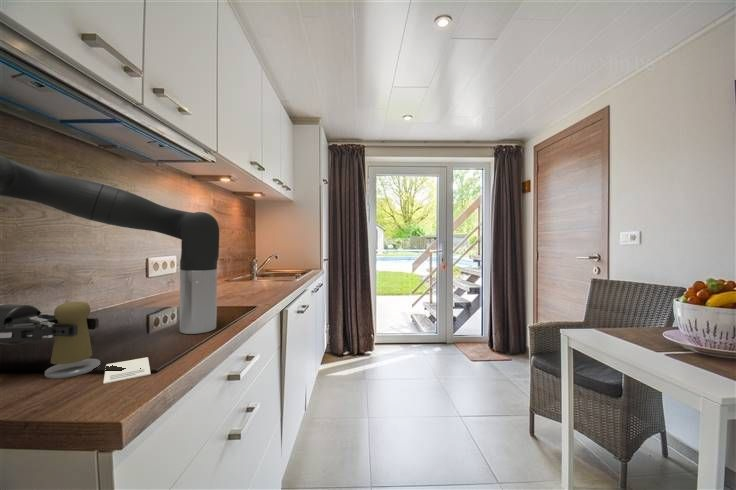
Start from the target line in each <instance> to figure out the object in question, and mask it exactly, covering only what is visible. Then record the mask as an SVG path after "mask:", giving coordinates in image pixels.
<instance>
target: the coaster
mask: <svg viewBox="0 0 736 490" xmlns="http://www.w3.org/2000/svg"><path fill="white" fill-rule="evenodd" d="M99 365H100V366H101V360H100V359H98V358H88V359H86V360H82V361H79V362H75V363H69V364H54V365H53V366H50V367H48V368H47V369H46V370H44V377H45V378H47V379H65V378H72V377H76V376H81V375H84V374H87V373H90V372H93V371H94V370H93V369H94V368H96V367H98V366H99ZM100 366H99V367H100ZM99 367H98V368H99ZM92 370H93V371H92Z"/></svg>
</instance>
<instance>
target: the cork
mask: <svg viewBox="0 0 736 490" xmlns="http://www.w3.org/2000/svg"><path fill="white" fill-rule="evenodd" d="M53 314H54V316H55V318H56V319H57V320H58V323H60V324H76V325H77V326H78V332H77V335H76V336H73V337H67V336H54V340H53V345H52V353H51V356H50V364H52V365H58V364H69V363H75V362H79V361H82V360H86V359H91V357H92V356H93V351H92V343H91V337H90V332H89V330H90V329H88V324H87V318H89V315H90V314H91V306H90V305H89V304H88V303H87V302H84V301H69V302H63V303H61V304H59V305H57V306H56V307H55V309H54V311H53Z"/></svg>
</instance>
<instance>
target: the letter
mask: <svg viewBox="0 0 736 490" xmlns="http://www.w3.org/2000/svg"><path fill="white" fill-rule="evenodd" d="M112 365H113V366H117V367H122V368H126V369H124V370H122V371H105V370H104V377H103V382H102V384H103V385H106V384H110V383H115V382H119V381H120V382H121V381H125V380H129V379H136V378H140V377H146V376H150V375H152V374H151V367H150V361H149V357H141V358H135V359H131V360H129V359H128V360H124V361H117V362H113V363H106V365H105V367H106V366H109V367H110V366H112ZM140 368H141V369H140Z"/></svg>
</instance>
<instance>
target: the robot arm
mask: <svg viewBox="0 0 736 490" xmlns="http://www.w3.org/2000/svg"><path fill="white" fill-rule="evenodd" d="M0 196H1V197H8V198H14V199H19V200H24V201H30V202H34V203H38V204H42V205H45V206H47V207H51V208H53V209H55V210H58V211H60V212H61V211H62V212H64V213H66V214H69V215H73V216H76V217H79V218H80V219H84V220H85V219H86V220H88V221H92V222H96V223H97V222H98V223H100V224H101V223H102V224H106V225H110V226H113V227H114V226H116V227H120V228H121V227H122V228H127V229H134V230H141V231H149V232H155V233H159V234H162V235H166V236H169V237H173V238H176V239H179V240H181V244H180V245H181V250H180V251H181V252H180V259H179V332H180V333H182V334H187V335H192V334H193V335H194V334H195V335H196V334H197V335H198V334H204V333H209V332H211V331H214V330H216V329H217V316H218V315H217V314H218V313H217V311H218V310H217V307H218V305H217V304H218V303H217V302H218V297H217V293H218V261H219V256H220V254H219V252H220V226H219V223H218V220H217V219H216V218H215V217H214V216H213V215H211V214H210V213H207V212H203V211H195V212H191V211H184V210H180V209H176V208H170V207H166V206H164V205H161V204H158V203H156V202H154V201H152V200H149V199H147V198H145V197H143V196H141V195H137V194H135V193H132V192H130V191H126V190H125V189H120V188H117V187H113V186H110V185H107V184H103V183H100V182H96V181H91V180H87V179H83V178H77V177H71V176H66V175H59V174H54V173H51V172H47V171H43V170H40V169H37V168H34V167H32V166H30V165H29V166H28V165H25V164H23V163H20V162H18V161H16V160H13V159H9V158H7V157H4V156H3V155H0ZM99 321H100V320H99V318H98V317H87V324H88V330H97V329H99V326H100V325H99V323H100V322H99ZM77 332H78V326H77V325H76V324H60V323H58V320H57V319H56V318H55V316H54V312H41V311H40V309H39V308H37V306H33V305H29V304H11V303H8V304H5V303H0V345H19V344H20V345H21V344H24V343H27V342H29V341H31V342H32V341H35V342H37V341H40V340H42V339H44V338H50V339H51V338H55V336H67V337H73V336H76V335H77Z"/></svg>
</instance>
